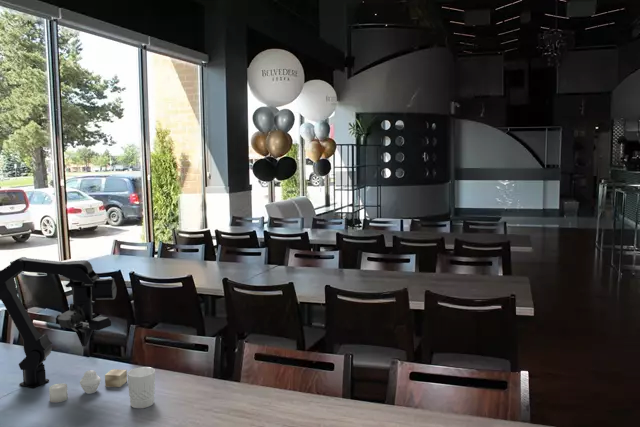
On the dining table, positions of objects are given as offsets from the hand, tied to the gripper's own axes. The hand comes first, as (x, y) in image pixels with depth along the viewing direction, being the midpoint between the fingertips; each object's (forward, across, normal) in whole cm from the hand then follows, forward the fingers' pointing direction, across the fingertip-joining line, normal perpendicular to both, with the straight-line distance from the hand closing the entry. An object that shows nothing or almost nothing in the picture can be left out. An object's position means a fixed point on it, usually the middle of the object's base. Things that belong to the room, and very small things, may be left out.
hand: (84, 346), depth 186 cm
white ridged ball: (+12, +8, -6) cm, 16 cm away
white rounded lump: (+12, +3, -14) cm, 19 cm away
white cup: (+12, +29, -6) cm, 32 cm away
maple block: (+12, +11, +2) cm, 16 cm away
